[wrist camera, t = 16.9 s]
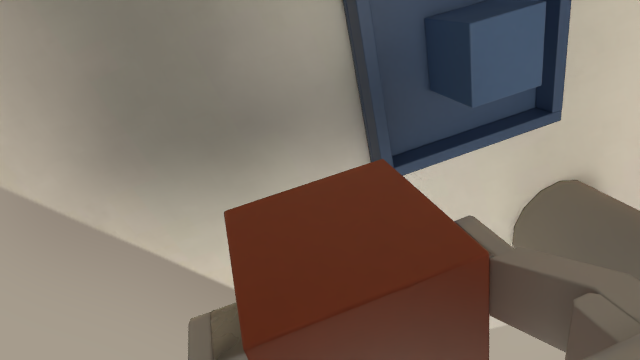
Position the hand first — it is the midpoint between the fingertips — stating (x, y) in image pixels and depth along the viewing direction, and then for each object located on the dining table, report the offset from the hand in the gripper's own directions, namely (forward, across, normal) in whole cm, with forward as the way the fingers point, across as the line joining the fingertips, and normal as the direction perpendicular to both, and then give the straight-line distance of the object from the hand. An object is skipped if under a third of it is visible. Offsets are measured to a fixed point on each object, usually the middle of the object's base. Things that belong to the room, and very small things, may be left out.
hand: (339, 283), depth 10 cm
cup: (+16, -23, +17) cm, 32 cm away
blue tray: (+15, -13, -1) cm, 21 cm away
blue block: (+15, -13, -1) cm, 20 cm away
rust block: (+2, 0, 0) cm, 2 cm away
